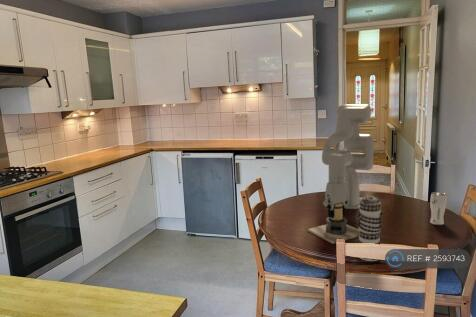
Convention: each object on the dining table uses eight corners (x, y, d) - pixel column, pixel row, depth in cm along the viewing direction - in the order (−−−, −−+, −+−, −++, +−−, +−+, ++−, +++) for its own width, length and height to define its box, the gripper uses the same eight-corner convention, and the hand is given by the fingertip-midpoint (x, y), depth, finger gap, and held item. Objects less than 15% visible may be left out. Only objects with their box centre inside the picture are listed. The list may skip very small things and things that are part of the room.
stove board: (339, 222, 186) (339, 221, 185) (365, 234, 170) (365, 232, 170) (307, 230, 177) (307, 229, 177) (332, 243, 161) (332, 241, 161)
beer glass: (443, 221, 182) (445, 192, 179) (446, 226, 176) (448, 196, 173) (428, 219, 185) (429, 191, 182) (430, 224, 178) (432, 195, 175)
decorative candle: (364, 249, 154) (365, 193, 150) (385, 256, 147) (387, 197, 143) (352, 256, 148) (353, 198, 144) (373, 263, 141) (375, 202, 137)
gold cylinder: (336, 227, 177) (336, 200, 174) (345, 231, 172) (345, 203, 169) (327, 230, 174) (327, 202, 172) (335, 233, 169) (335, 205, 167)
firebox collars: (337, 225, 179) (337, 215, 178) (350, 231, 171) (350, 220, 170) (322, 229, 175) (322, 218, 174) (335, 236, 167) (335, 224, 166)
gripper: (345, 175, 176) (344, 210, 179) (316, 180, 168) (317, 217, 171) (356, 178, 169) (355, 214, 172) (327, 184, 161) (327, 222, 165)
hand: (336, 215), depth 172 cm, fingers open, 6 cm apart
